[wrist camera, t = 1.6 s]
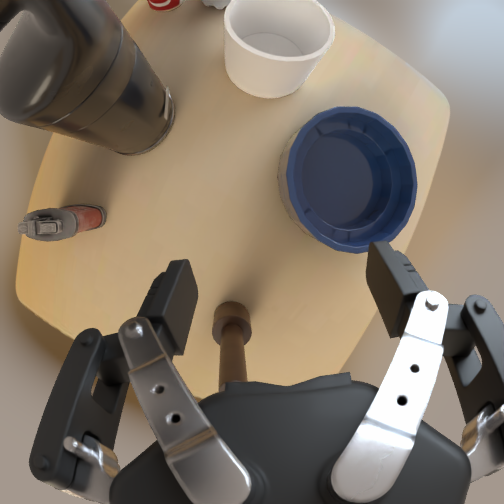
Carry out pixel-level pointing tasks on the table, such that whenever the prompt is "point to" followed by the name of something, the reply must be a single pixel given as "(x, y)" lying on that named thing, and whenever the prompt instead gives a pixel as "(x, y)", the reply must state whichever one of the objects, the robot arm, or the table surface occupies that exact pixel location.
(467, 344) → the robot arm
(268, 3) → the mug
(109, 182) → the table surface
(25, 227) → the lighter
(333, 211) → the bowl
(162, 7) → the soda can
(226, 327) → the brown peg with base
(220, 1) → the bottle
